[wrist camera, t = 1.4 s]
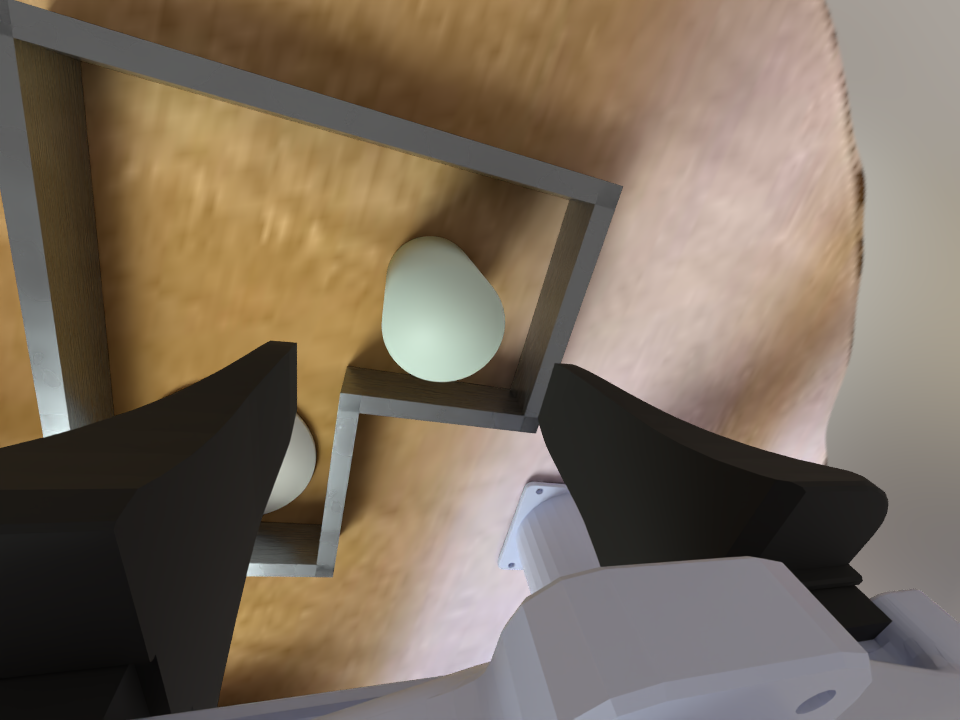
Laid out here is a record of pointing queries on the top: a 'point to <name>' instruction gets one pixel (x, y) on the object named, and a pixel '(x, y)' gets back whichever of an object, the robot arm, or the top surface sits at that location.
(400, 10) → the top surface
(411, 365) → the peg
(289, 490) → the end pad
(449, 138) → the grey notched frame
